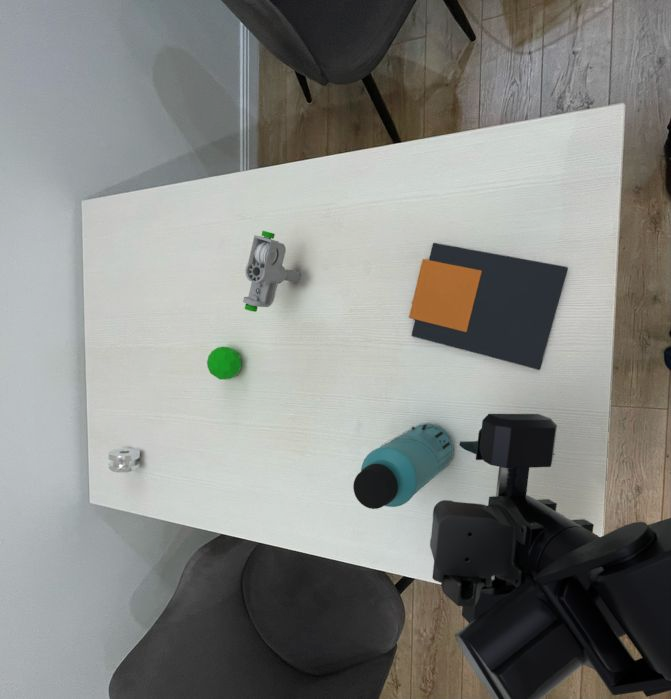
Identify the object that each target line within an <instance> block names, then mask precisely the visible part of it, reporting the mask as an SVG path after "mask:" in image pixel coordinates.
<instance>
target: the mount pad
mask: <svg viewBox="0 0 671 699" xmlns="http://www.w3.org/2000/svg"><path fill="white" fill-rule="evenodd" d="M568 269H569V267H567V266H564V265H559V264H558V265H557V264H553V263H547V262H541V261H535V260H530V259H524V258H521V257H514V256H508V255H504V254H503V255H502V254H498V253H491V252H486V251H481V250H475V249H470V248H465V247H458V246H453V245H448V244H443V243H442V244H441V243H437V242H433V243H432V246H431V251H430V254H429V259H425V258H422V260H421V265H420V268H419V273H418V276H417V277H418V278H417V280H416V286H415V290H414V293H413V294H414V295H413V299H412V302H411V307H410V312H409V316H408V318H409V319H412V320H414V322H413V326H412V332H411V334H410V335H411V337H414V338H418V339H422V340H425V341H429V342H432V343H435V344H440V345H444V346H448V347H452V348H455V349H459V350H463V351H467V352H470V353H473V354H478V355H482V356H485V357H489V358H493V359H496V360H500V361H505V362H508V363H513V364H516V365H520V366H523V367H527V368H531V369H534V370H541V366H542V363H543V360H544V359H543V358H544V355H545V351H546V348H547V344H548V341H549V338H550V333H551V330H552V327H553V323H554V320H555V316H556V315H555V314H556V312H557V308H558V305H559V301H560V298H561V294H562V291H563V287H564V284H565V279H566V277H567V273H568Z"/></svg>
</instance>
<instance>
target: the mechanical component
mask: <svg viewBox="0 0 671 699" xmlns="http://www.w3.org/2000/svg"><path fill="white" fill-rule="evenodd" d="M275 235H276V234H275V233H273V232H270V231H266V230H262V231H261V235H256V234H254V236H253V240H252V244H251V249H250V254H249V258H248V262H247V263H246V264H247V265H246V266H245V277H246V278H247V281H249V282H251V284H250V288H249V292H248V296H243V300H242V302H243V303H244V304H245V305H244V310H246V311H249V312H255V313H256V312H258V307H259V308H269V307H270V306H271V305H272V304H273V303H274V301H275V297H276V292H277V288H278V285H279V284H280V285H281V284H282V283H284V282H293V283H296V282H299V281H300V280H301V278H302V275H301V273H300V272H299V271H297V270H293V269H286V268H285V266H283V264H284V259H285V255H286V246H285V244H284V243H282V242H279V240H274V239H275Z"/></svg>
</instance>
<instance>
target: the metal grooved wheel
mask: <svg viewBox="0 0 671 699" xmlns="http://www.w3.org/2000/svg"><path fill="white" fill-rule="evenodd" d="M140 458H141V450H140V449H138V448H134V447H122V448H116V449H111V450H110V451H109V452H108V460H109V461H110V462H108V469H109V471H111V472H114V473H120V474H121V473H130V472H134V471H137V470H138V469H139V468H140V467H141V461H140V460H138V459H140Z"/></svg>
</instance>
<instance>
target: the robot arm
mask: <svg viewBox="0 0 671 699" xmlns="http://www.w3.org/2000/svg"><path fill="white" fill-rule="evenodd" d="M557 428H558V425H557V423H556V422H555V421H553V419H552V418H550V417H548V416H545V415H542V414H540V413H487V415H486V416H485V417H484V418H483V419H482V421H481V428H480V429H479V431H478V435H477V440H467V441H466V440H465V441H463V440H461V441H459V442H458V444H459V445H458V446H459V447H461V449H463V450H465V451H467V452H470V453H472V454H474V455H475V461H483V462H485V463H486V464H488V465H490V466H494V467H498V472H497V473H498V474H497V484H496V491H495V495H492V496H488V502H487V505H486V504H483V503H472V502H463V501H461V502H460V501H453V500H447V499H443V500H440V501H438V502H437V503H435V505H434V507H433V510H432V524H431V533H430V540H429V548H430V551H431V554H432V558H433V567H432V579H433V581H435V582H437V583H440V586H441V590H442V593H443V594H444V595H445V596H446V597H447V598H448V599H449V600H450V601H452V602H453V603H454V605H456V606H457V607H462V609H461V616H462V617H463V619H465V621H466V622H467V625H465V626H464V627H462V628H461V629H460V630H459V631H457V632H456V633H454V638H455V640H456V643H457V645H458V646H459V649H460V650H461V653H462V655H463V656H464V658H465V660H466V661H467V663H468V664H469V666H470V668H471V670H472V671H473V672H474V674H475V675H476V677H477V678H478V680H479V682H480V683H481V684H482V686H483V687H484V689H485V690H486V691H487V693H488V695H489V696H490V697H491V699H544V698H545V697H546V696H547V695H548V694H550V693H551V692H552V691H553V690H555V689H556V688H557V687H558V686H559V685H561V684H562V683H563V682H564V681H566V680H567V679H568V678H569V677H571V675H573V674H574V673H575V672H576V671H578V670H579V669H580V668H581V667H582V666H585V667H588V668H590V669H592V670H594V671H595V672H596V674H597V675H598V676H599V678H600V680H601V682H603V684H604V685H605V687H606V689H607V690H608V691H609V693H610V694H611V695H612V696H618V695H626V694H633V693H634V694H635V693H640V692H642V693H643V694H644V695H645V697H647V698H648V697H653V696H655V695H660V694H663V693H666V692H670V691H671V517H669V518H665V519H662V520H659V521H656V522H652V523H649V524H647V523H646V522H645V521H636V522H635V521H634V522H632V523H628V524H625V525H623V526H621V527H618V528H616V529H614V530H612V531H610V532H608V533H606V534H603V535H602V536H599V535H597V534H596V533H594V532H593V531H594V526H595V524H593V522H590V521H588V520H587V519H585V518H578V519H570V518H569V517H567V516H565V515H564V514H561V513H560V512H558V511H557V505H558V503H556V502H555V501H553V500H551V499H549V498H543V499H535V497H532V496H531V495H528V494H527V492H528V484H529V475H530V468H532V469H533V468H552V465H553V462H554V454H555V446H556V438H557V437H556V436H557ZM623 636H627V638H628V639H629V640H630V642H631V643H632V645H633V646H634V647H635V649H636V651H637V652H638V654H639V656H640V658H637V659H635V658H634V657H633V655H632V653H631V652H630V650H629V649H628V648H627V646H626V645H625V644H624V642H623V640H622V639H621V638H622V637H623Z"/></svg>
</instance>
